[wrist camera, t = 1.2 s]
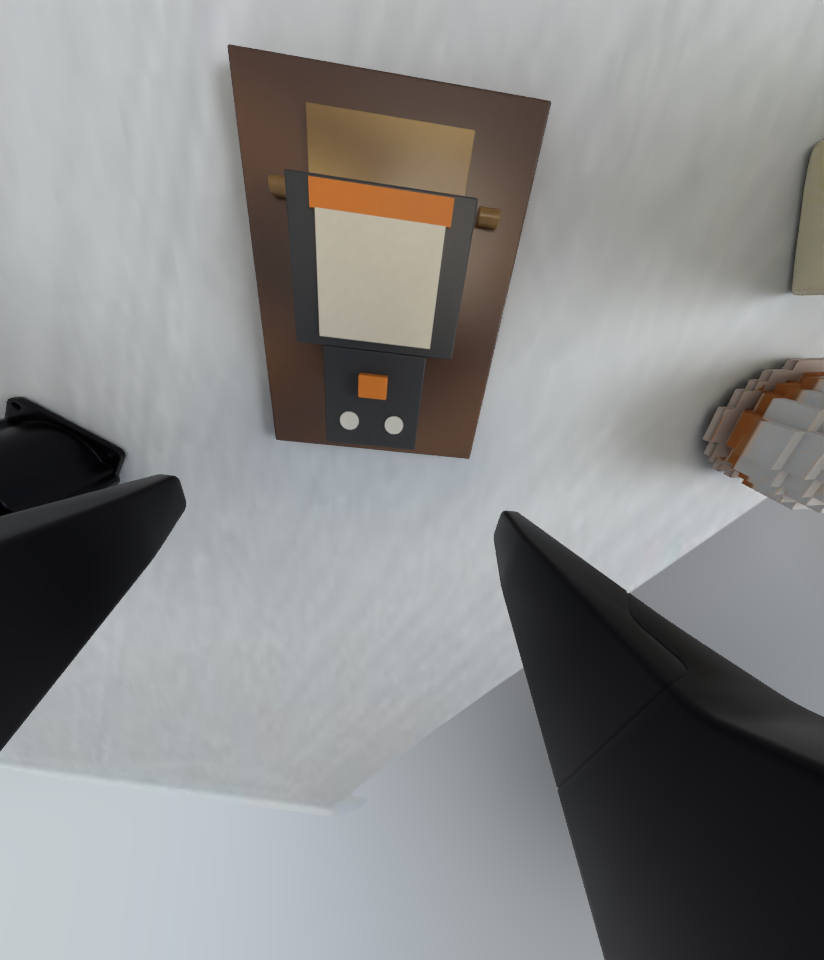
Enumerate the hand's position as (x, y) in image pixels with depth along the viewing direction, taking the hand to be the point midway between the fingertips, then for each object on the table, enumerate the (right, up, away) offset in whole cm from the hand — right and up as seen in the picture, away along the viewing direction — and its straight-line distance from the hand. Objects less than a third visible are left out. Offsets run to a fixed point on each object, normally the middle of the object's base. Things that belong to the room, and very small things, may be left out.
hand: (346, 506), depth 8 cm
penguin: (0, +9, +8) cm, 12 cm away
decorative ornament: (+25, +5, +12) cm, 28 cm away
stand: (0, +10, +8) cm, 13 cm away
